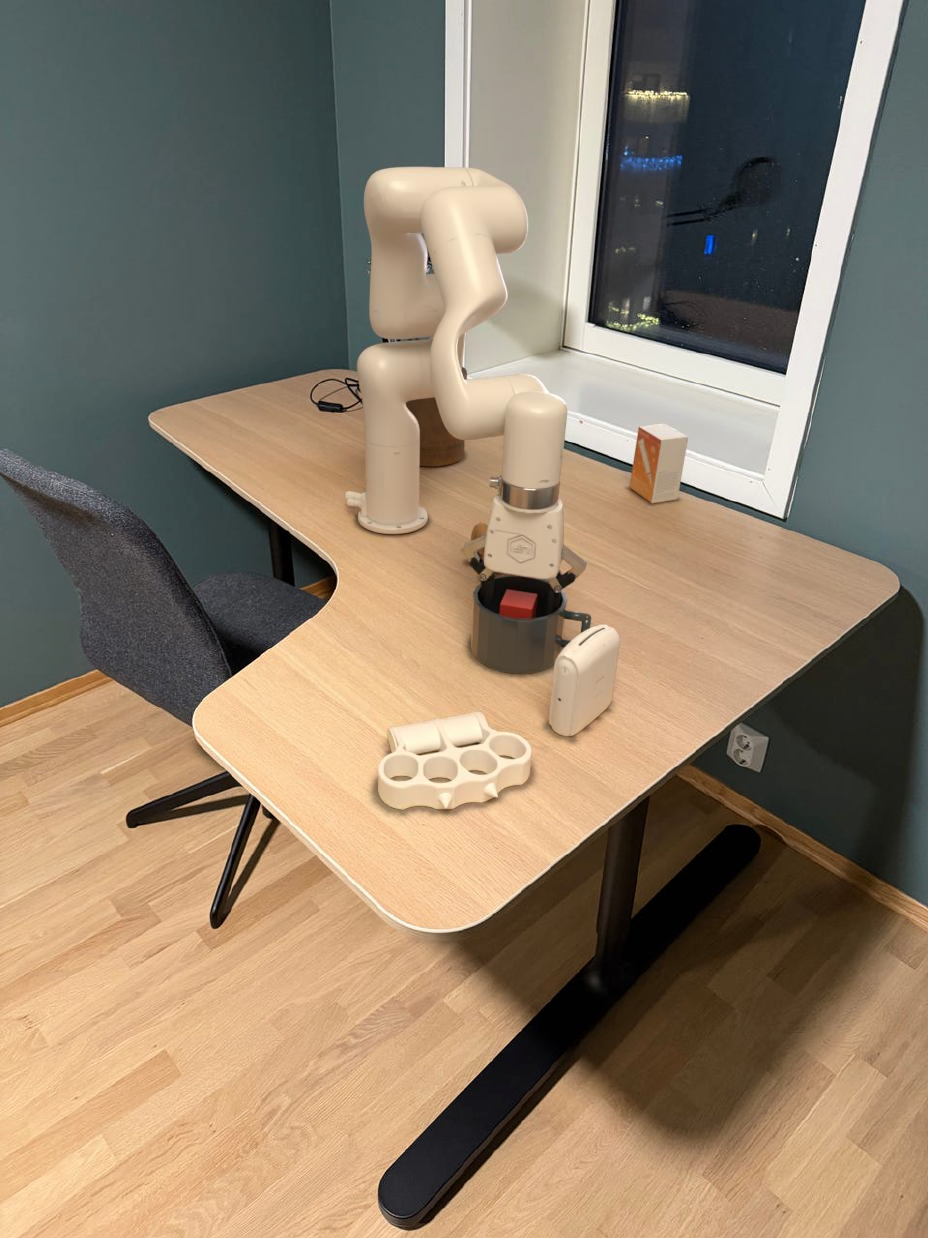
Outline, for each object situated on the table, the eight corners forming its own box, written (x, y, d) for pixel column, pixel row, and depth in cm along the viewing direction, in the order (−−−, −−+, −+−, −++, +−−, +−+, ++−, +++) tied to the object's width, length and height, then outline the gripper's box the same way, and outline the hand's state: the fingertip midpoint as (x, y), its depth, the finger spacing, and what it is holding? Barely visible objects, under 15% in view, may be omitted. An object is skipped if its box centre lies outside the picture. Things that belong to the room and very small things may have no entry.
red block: (497, 650, 123) (500, 604, 119) (503, 634, 127) (506, 589, 123) (527, 655, 122) (531, 609, 119) (533, 639, 126) (537, 593, 122)
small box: (628, 488, 176) (637, 425, 170) (655, 484, 179) (665, 422, 172) (651, 504, 170) (661, 439, 163) (678, 499, 172) (689, 436, 166)
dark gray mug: (461, 665, 121) (463, 612, 116) (482, 618, 132) (485, 568, 127) (579, 685, 118) (586, 632, 113) (591, 636, 128) (598, 585, 124)
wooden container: (477, 452, 191) (481, 349, 179) (439, 472, 180) (441, 364, 169) (420, 437, 197) (422, 337, 186) (381, 456, 187) (379, 351, 175)
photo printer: (571, 742, 107) (581, 658, 101) (542, 727, 110) (551, 644, 103) (615, 705, 114) (628, 624, 108) (588, 691, 117) (598, 611, 110)
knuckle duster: (501, 720, 111) (547, 798, 99) (360, 747, 105) (392, 832, 94) (502, 699, 109) (549, 775, 97) (360, 724, 104) (391, 808, 92)
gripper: (456, 493, 111) (451, 610, 120) (593, 512, 108) (577, 631, 117) (470, 471, 117) (465, 584, 127) (600, 489, 114) (585, 603, 123)
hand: (519, 606), depth 122 cm, fingers open, 8 cm apart
